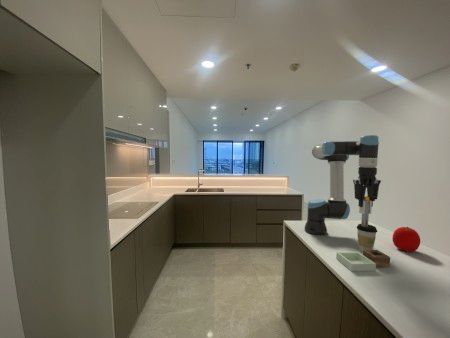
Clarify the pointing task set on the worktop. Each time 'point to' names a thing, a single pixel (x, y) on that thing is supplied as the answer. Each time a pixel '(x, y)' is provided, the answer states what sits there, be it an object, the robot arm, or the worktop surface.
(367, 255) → the socket block
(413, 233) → the tomato
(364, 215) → the pin
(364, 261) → the tray
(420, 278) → the worktop surface
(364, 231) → the coffee cup
